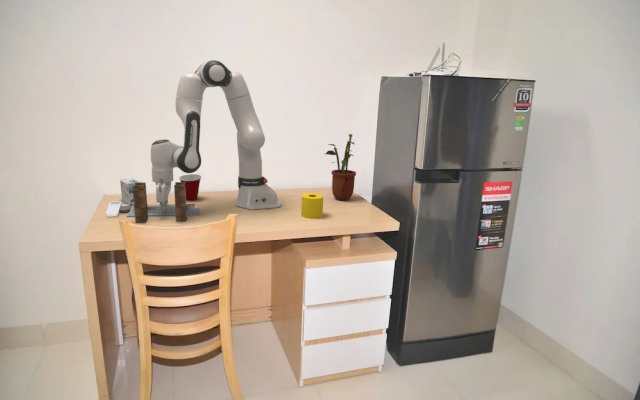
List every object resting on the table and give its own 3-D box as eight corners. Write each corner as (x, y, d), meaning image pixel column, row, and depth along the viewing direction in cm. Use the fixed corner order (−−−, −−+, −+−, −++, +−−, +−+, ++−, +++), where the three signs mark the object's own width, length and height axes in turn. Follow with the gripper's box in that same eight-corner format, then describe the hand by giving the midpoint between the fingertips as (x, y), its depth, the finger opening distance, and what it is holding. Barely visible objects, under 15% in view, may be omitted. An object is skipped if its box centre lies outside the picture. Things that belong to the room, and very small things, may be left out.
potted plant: (353, 196, 232) (358, 133, 222) (355, 204, 217) (360, 136, 207) (322, 194, 232) (325, 131, 222) (321, 202, 217) (325, 134, 207)
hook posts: (186, 217, 184) (185, 182, 180) (185, 221, 179) (184, 185, 174) (138, 218, 180) (135, 182, 176) (135, 223, 174) (132, 185, 170)
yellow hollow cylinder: (299, 217, 191) (299, 197, 189) (303, 211, 201) (303, 192, 198) (320, 219, 190) (321, 199, 187) (323, 213, 199) (324, 194, 197)
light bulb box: (144, 203, 201) (142, 181, 198) (129, 206, 197) (127, 183, 194) (135, 198, 209) (133, 177, 206) (121, 200, 204) (119, 179, 201)
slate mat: (199, 209, 196) (199, 208, 196) (198, 215, 188) (198, 213, 188) (131, 210, 189) (131, 209, 189) (126, 217, 181) (126, 215, 181)
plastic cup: (175, 200, 208) (174, 177, 205) (188, 195, 218) (187, 173, 215) (193, 203, 205) (193, 179, 202) (206, 198, 215) (205, 175, 212)
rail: (194, 210, 193) (194, 203, 192) (194, 212, 190) (194, 205, 189) (134, 211, 187) (133, 205, 186) (133, 213, 184) (132, 207, 183)
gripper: (167, 182, 175) (169, 213, 179) (172, 172, 194) (174, 200, 198) (151, 182, 174) (153, 214, 177) (158, 172, 193) (160, 200, 197)
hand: (164, 206), depth 188 cm, fingers open, 8 cm apart
